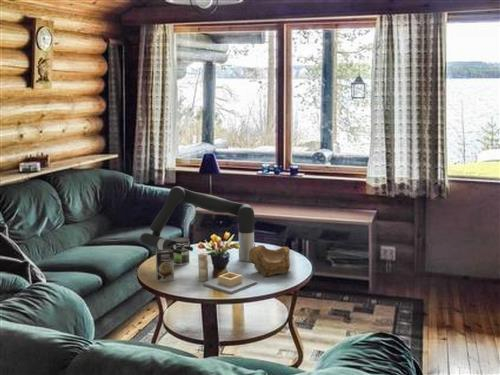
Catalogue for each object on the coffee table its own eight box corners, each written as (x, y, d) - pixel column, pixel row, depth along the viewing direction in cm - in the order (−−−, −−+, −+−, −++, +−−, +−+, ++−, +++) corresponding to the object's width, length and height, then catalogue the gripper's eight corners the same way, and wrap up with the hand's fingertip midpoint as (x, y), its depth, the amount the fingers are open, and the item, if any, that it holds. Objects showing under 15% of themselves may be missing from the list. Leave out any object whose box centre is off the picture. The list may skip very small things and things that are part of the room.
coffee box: (157, 282, 299) (156, 253, 296) (156, 278, 305) (155, 249, 302) (174, 280, 301) (173, 251, 298) (173, 276, 307) (172, 248, 304)
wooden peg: (203, 277, 306) (203, 252, 303) (210, 279, 302) (209, 254, 300) (196, 279, 302) (196, 254, 300) (203, 282, 299) (202, 256, 296)
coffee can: (185, 265, 326) (185, 242, 324) (169, 264, 329) (168, 241, 327) (192, 260, 336) (192, 237, 333) (176, 259, 339) (176, 236, 336)
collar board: (229, 275, 309) (229, 267, 308) (257, 283, 296) (257, 274, 295) (203, 285, 294) (203, 276, 293) (231, 293, 281) (231, 285, 280)
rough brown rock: (249, 280, 304) (250, 254, 300) (248, 268, 320) (248, 243, 316) (292, 280, 305) (293, 254, 301) (288, 268, 321) (290, 243, 317)
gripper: (157, 241, 312) (177, 246, 302) (176, 236, 323) (196, 241, 312) (157, 254, 313) (177, 260, 303) (176, 249, 324) (196, 254, 314)
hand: (186, 250), depth 308 cm, fingers open, 8 cm apart
